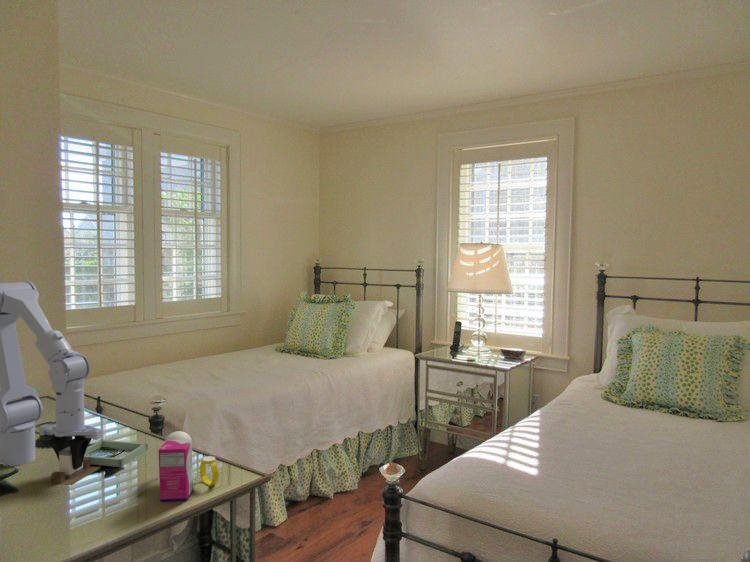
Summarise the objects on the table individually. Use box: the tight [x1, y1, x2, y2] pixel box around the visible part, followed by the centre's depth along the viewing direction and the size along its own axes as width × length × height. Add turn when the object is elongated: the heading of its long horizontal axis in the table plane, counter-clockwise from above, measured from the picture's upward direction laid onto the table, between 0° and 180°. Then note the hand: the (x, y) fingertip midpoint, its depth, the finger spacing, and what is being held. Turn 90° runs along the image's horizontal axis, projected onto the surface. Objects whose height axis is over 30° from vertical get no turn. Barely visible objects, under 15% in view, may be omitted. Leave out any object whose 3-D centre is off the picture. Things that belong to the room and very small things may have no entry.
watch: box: [199, 455, 219, 487], centre depth 126 cm, size 6×3×6 cm, turn 47°
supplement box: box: [157, 438, 194, 503], centre depth 120 cm, size 6×6×12 cm
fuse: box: [58, 447, 83, 478], centre depth 128 cm, size 3×4×6 cm, turn 170°
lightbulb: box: [164, 430, 192, 442], centre depth 128 cm, size 6×6×11 cm
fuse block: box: [39, 458, 102, 486], centre depth 128 cm, size 8×10×3 cm
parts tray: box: [84, 439, 149, 468], centre depth 139 cm, size 13×11×2 cm
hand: (71, 467), depth 128 cm, fingers closed on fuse, 3 cm apart
